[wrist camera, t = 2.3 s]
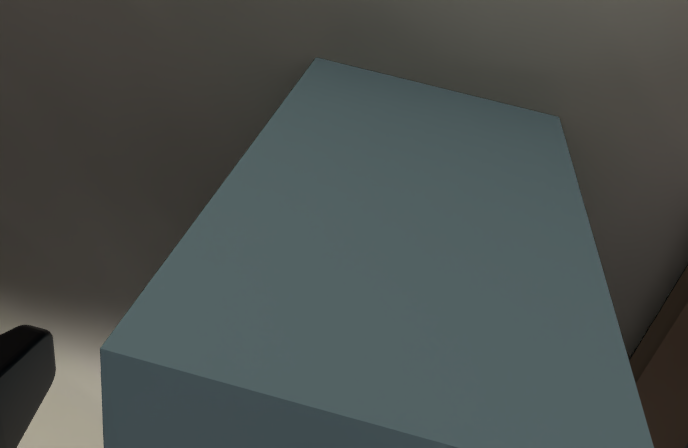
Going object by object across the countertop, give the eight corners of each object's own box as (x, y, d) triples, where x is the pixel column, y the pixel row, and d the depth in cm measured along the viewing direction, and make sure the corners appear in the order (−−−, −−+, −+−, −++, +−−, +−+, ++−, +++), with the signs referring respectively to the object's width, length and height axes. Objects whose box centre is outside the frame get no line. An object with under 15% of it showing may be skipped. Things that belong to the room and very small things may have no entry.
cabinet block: (261, 389, 15) (77, 858, 8) (316, 56, 10) (10, 468, 4) (429, 435, 14) (386, 958, 8) (558, 115, 10) (717, 672, 3)
